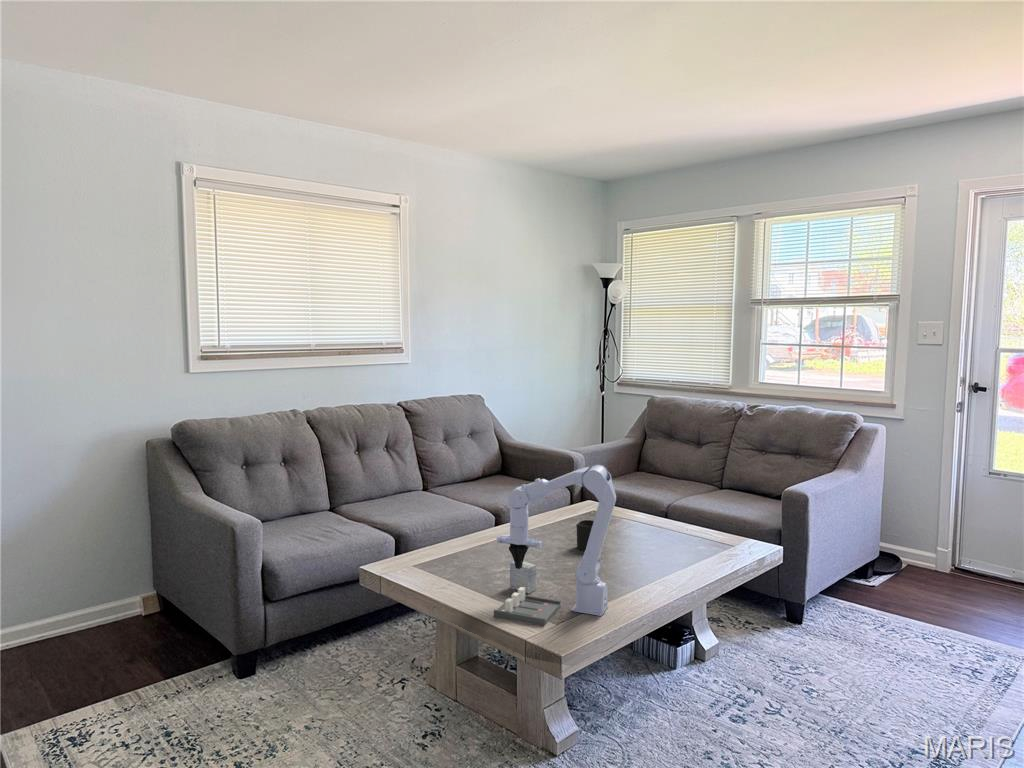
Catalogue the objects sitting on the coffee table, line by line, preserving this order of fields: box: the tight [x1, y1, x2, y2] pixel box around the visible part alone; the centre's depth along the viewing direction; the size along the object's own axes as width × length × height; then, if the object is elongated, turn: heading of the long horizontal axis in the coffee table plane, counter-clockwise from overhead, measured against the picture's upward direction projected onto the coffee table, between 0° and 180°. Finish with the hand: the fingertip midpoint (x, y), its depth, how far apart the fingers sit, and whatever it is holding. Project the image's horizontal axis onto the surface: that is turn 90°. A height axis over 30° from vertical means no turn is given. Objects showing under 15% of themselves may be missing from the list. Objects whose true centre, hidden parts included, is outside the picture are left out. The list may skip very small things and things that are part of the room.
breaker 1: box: [511, 592, 520, 608], centre depth 210 cm, size 2×2×4 cm
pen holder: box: [576, 519, 594, 552], centre depth 270 cm, size 9×9×10 cm
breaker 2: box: [517, 587, 526, 602], centre depth 215 cm, size 2×2×4 cm
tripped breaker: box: [504, 597, 513, 612], centre depth 206 cm, size 2×2×4 cm
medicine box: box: [509, 560, 537, 595], centre depth 227 cm, size 8×4×9 cm, turn 48°
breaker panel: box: [493, 592, 562, 627], centre depth 209 cm, size 16×15×2 cm
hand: (518, 567), depth 217 cm, fingers closed
